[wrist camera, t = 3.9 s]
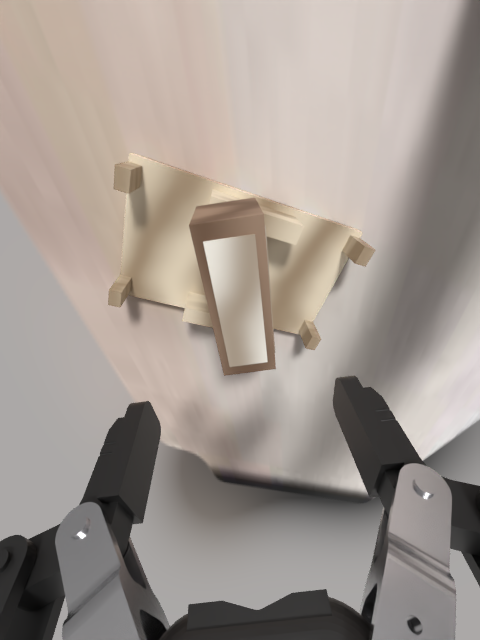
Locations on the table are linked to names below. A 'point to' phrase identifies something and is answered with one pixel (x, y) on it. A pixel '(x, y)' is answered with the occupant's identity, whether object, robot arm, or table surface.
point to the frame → (236, 282)
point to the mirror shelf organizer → (180, 259)
